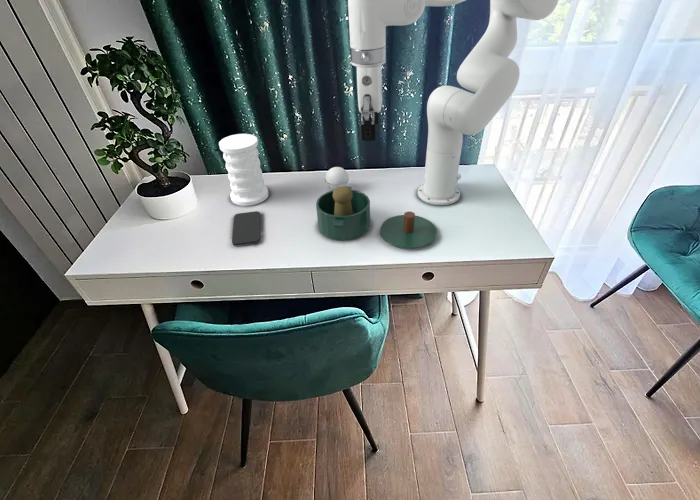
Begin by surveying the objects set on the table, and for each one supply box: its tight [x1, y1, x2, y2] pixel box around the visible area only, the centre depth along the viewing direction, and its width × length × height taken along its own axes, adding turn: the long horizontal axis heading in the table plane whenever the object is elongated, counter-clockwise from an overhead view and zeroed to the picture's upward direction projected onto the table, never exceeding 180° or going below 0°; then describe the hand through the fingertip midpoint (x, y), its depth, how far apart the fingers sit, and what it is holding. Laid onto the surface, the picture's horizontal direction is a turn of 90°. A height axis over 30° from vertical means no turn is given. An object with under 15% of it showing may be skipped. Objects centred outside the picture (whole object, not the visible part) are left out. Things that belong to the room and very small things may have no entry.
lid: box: [379, 211, 438, 250], centre depth 105 cm, size 15×15×6 cm
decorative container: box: [218, 133, 269, 207], centre depth 120 cm, size 12×12×18 cm
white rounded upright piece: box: [324, 166, 350, 191], centre depth 124 cm, size 10×7×7 cm
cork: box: [332, 186, 353, 216], centre depth 107 cm, size 6×6×11 cm
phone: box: [231, 210, 261, 247], centre depth 111 cm, size 7×1×15 cm
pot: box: [315, 185, 371, 242], centre depth 109 cm, size 14×20×8 cm
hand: (370, 131), depth 97 cm, fingers open, 9 cm apart
